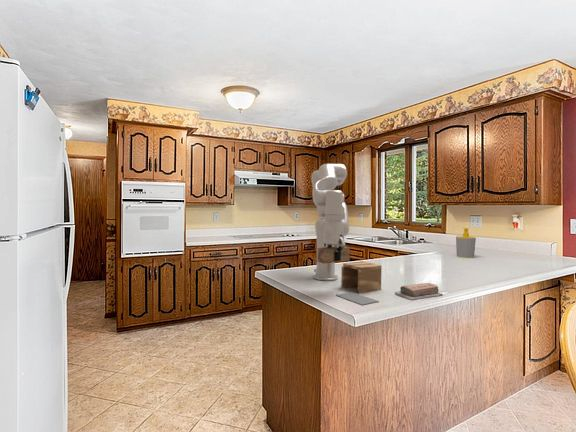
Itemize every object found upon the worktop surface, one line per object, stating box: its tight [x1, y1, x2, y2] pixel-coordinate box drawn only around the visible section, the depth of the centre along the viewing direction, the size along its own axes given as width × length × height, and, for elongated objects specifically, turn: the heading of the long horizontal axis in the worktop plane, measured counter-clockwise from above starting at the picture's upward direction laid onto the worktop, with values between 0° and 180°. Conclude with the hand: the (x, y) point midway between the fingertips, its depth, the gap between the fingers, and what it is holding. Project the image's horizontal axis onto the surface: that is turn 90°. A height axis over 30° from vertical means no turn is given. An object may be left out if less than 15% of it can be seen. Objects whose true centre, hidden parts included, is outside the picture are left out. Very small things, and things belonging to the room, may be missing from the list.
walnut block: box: [316, 246, 351, 264], centre depth 153 cm, size 5×14×6 cm, turn 121°
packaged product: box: [394, 282, 443, 301], centre depth 151 cm, size 18×5×10 cm
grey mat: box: [335, 291, 380, 306], centre depth 144 cm, size 16×9×1 cm, turn 31°
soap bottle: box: [455, 227, 477, 259], centre depth 256 cm, size 13×13×21 cm
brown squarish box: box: [340, 260, 383, 294], centre depth 161 cm, size 12×13×11 cm
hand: (333, 259), depth 153 cm, fingers closed on walnut block, 5 cm apart
